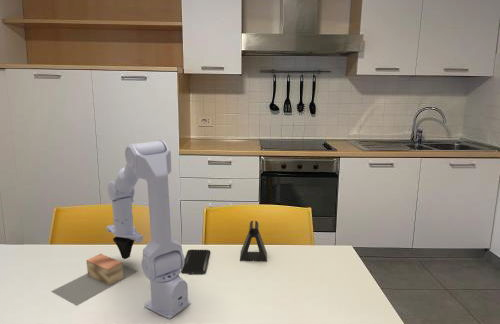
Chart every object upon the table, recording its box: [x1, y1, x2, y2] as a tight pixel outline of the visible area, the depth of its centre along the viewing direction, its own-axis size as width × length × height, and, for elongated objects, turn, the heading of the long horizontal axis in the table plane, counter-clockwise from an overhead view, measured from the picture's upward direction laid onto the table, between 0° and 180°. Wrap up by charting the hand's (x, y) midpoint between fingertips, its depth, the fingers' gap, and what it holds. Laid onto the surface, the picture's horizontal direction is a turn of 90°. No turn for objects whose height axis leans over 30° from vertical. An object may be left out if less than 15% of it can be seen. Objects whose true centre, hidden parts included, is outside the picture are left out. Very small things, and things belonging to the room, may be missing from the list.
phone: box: [180, 249, 211, 276], centre depth 123 cm, size 8×1×15 cm
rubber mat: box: [51, 264, 139, 307], centre depth 112 cm, size 12×21×1 cm, turn 148°
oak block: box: [86, 253, 123, 285], centre depth 114 cm, size 10×5×5 cm, turn 58°
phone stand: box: [239, 220, 268, 263], centre depth 126 cm, size 9×6×12 cm, turn 88°
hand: (126, 257), depth 120 cm, fingers closed
